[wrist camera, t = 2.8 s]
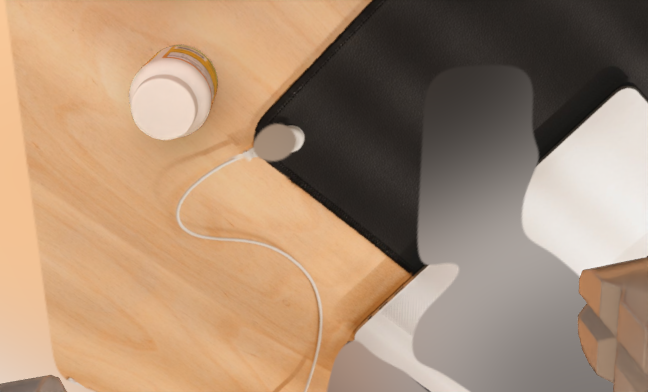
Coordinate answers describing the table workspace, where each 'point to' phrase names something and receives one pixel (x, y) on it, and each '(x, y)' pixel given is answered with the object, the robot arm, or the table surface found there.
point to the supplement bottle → (173, 92)
